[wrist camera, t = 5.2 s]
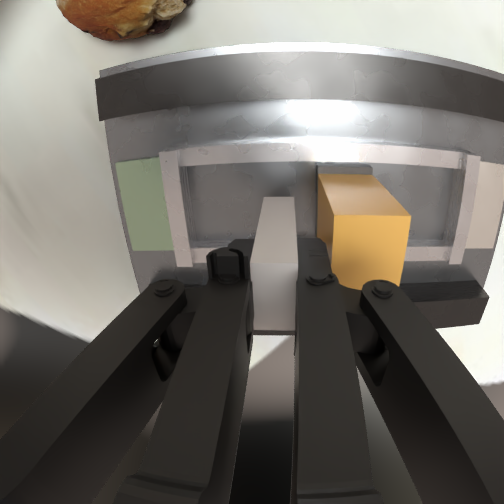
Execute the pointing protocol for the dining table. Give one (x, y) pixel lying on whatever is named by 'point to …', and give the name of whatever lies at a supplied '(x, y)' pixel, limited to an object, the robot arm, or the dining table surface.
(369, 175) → the lever
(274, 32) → the dining table surface
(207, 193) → the panel
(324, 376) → the robot arm
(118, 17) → the bread roll
